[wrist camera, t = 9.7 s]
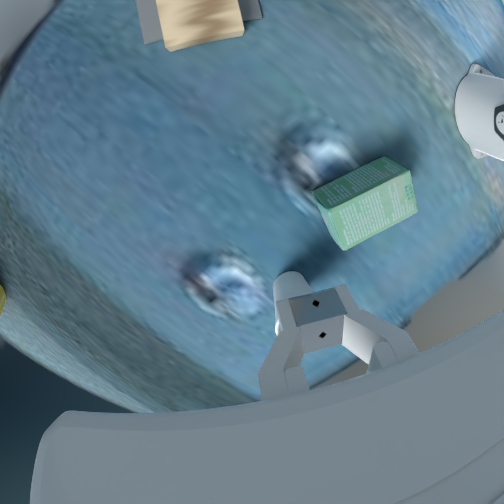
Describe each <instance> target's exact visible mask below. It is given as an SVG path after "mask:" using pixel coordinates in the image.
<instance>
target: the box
mask: <svg viewBox="0 0 504 504" xmlns="http://www.w3.org/2000/svg"><path fill="white" fill-rule="evenodd" d="M312 194H313V197H314V199H315V201H316V203H317V205H318V208H319V210H320V212H321V214H322V217H323V219H324V221H325V224H326V226H327V228H328V231H329V233H330V235H331V236H332V238H333V239H334V241H335V242H336V243H337V244H338V246H339V247H340V248H341V249H342V250H348V249H350V248H351V247H353V246H355V245H357V244H359V243H361V242H363V241H365V240H366V239H368V238H370V237H372V236H374V235H376V234H378V233H380V232H382V231H383V230H385V229H387V228H389V227H391V226H393V225H395V224H397V223H398V222H400V221H402V220H404V219H406V218H408V217H410V216H411V215H413V214H415V213H416V212H418V211H417V204H416V198H415V193H414V187H413V182H412V177H411V172H410V170H408V169H407V168H405V167H403V166H402V165H400V164H398V163H397V162H395V161H393V160H391V159H390V158H388V157H386V156H383V157H381V158H379V159H376V160H374V161H372V162H370V163H368V164H365V165H363V166H361V167H359V168H357V169H355V170H353V171H351V172H349V173H347V174H345V175H343V176H341V177H339V178H337V179H335V180H333V181H331V182H329V183H327V184H325V185H323V186H321V187H319V188H317V189H315V190H313V191H312Z"/></svg>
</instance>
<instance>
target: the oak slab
mask: <svg viewBox="0 0 504 504" xmlns="http://www.w3.org/2000/svg"><path fill="white" fill-rule="evenodd" d="M156 5H157V9H158V14H159V19H160V24H161V29H162V34H163V38H164V43H165V47H166V49H168V50H169V51H170V52H172V51H175V50H179V49H183V48H186V47H190V46H194V45H198V44H203V43H207V42H212V41H217V40H222V39H227V38H233V37H239V36H242V35H243V33H244V31H245V30H244V26H243V21H242V17H241V13H240V8H239V4H238V0H156Z"/></svg>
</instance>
